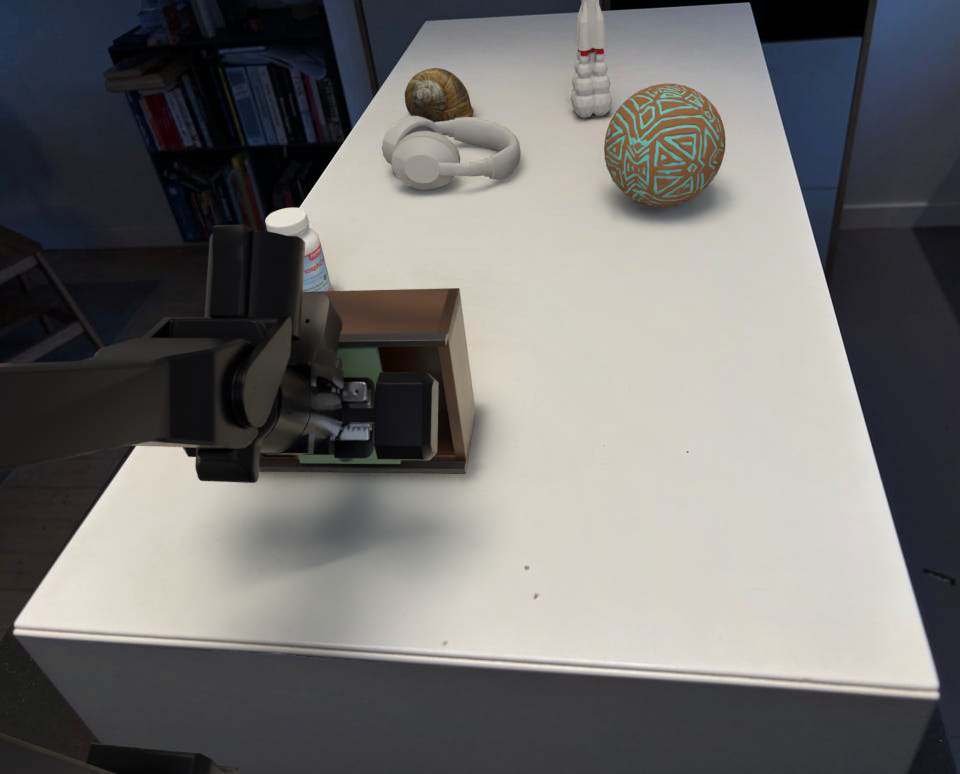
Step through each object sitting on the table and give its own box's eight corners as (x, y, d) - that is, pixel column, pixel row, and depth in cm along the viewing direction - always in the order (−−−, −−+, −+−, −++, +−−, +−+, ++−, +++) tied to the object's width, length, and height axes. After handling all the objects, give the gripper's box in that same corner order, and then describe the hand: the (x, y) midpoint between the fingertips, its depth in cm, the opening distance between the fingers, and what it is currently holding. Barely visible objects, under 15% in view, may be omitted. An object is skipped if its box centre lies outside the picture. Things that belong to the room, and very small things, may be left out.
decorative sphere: (738, 188, 108) (751, 74, 99) (688, 238, 100) (697, 117, 90) (638, 169, 116) (640, 61, 107) (583, 213, 107) (580, 99, 98)
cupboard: (465, 473, 71) (445, 339, 62) (249, 471, 74) (200, 343, 65) (476, 412, 78) (459, 283, 69) (276, 413, 81) (235, 289, 72)
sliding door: (392, 495, 69) (364, 378, 61) (287, 494, 70) (247, 379, 62) (402, 459, 72) (377, 343, 64) (302, 458, 74) (265, 345, 66)
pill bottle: (318, 320, 93) (294, 232, 86) (273, 313, 95) (247, 227, 88) (343, 292, 97) (323, 206, 90) (300, 286, 99) (276, 202, 92)
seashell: (404, 130, 137) (397, 82, 132) (411, 110, 144) (404, 64, 139) (471, 125, 135) (466, 77, 130) (475, 105, 143) (470, 58, 138)
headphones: (403, 205, 112) (537, 191, 118) (402, 150, 108) (541, 138, 114) (373, 159, 126) (494, 148, 132) (370, 108, 122) (496, 99, 127)
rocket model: (597, 125, 130) (595, -89, 112) (560, 118, 134) (552, -90, 116) (622, 110, 134) (624, -99, 116) (585, 103, 138) (581, -100, 120)
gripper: (413, 280, 51) (458, 325, 67) (140, 286, 54) (243, 328, 70) (409, 458, 50) (455, 462, 65) (130, 454, 53) (237, 459, 68)
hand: (345, 423), depth 67 cm, fingers closed on sliding door, 2 cm apart
